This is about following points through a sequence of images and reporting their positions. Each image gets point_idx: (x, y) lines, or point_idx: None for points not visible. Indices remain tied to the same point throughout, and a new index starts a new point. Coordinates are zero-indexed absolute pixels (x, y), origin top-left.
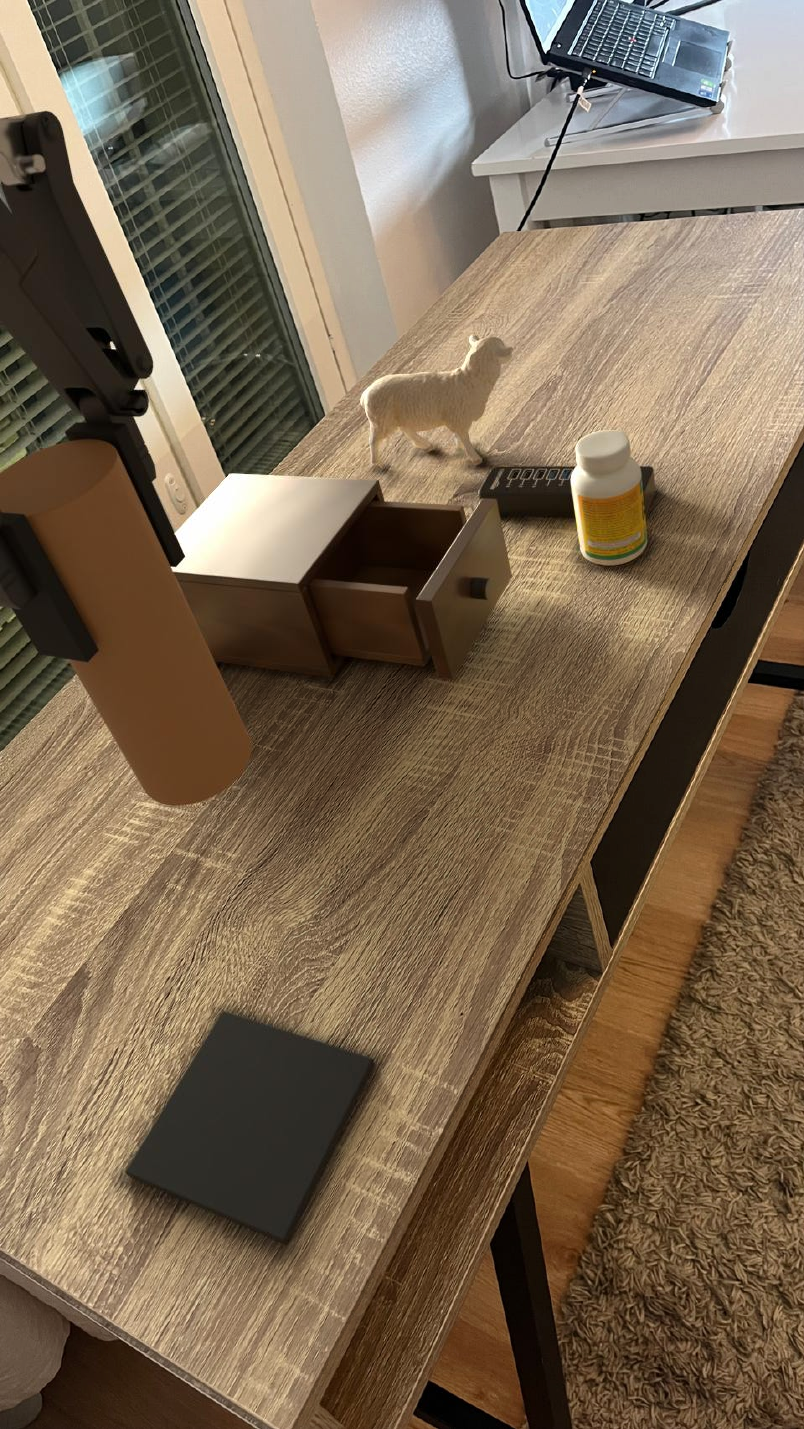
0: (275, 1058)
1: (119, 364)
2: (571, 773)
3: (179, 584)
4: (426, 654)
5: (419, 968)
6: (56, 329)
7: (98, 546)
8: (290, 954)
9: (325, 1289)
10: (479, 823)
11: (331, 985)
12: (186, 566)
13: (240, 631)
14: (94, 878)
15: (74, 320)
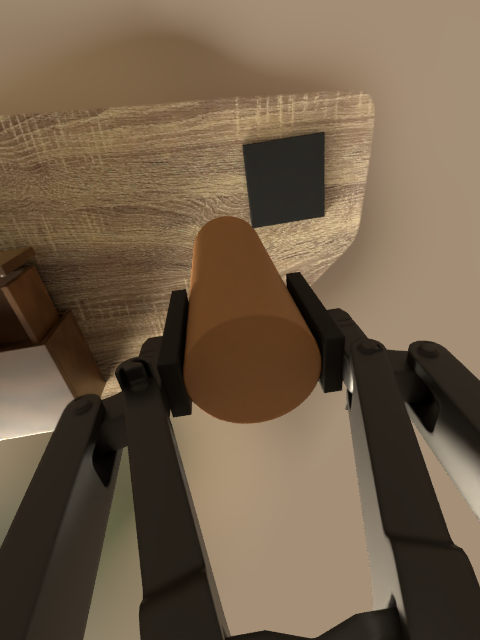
0: (261, 189)
1: (106, 421)
2: (43, 141)
3: None
4: (27, 268)
5: (192, 154)
6: (177, 477)
7: (271, 292)
8: None
9: (331, 103)
10: (104, 175)
11: (219, 191)
12: None
13: (82, 363)
14: None
15: (138, 479)
